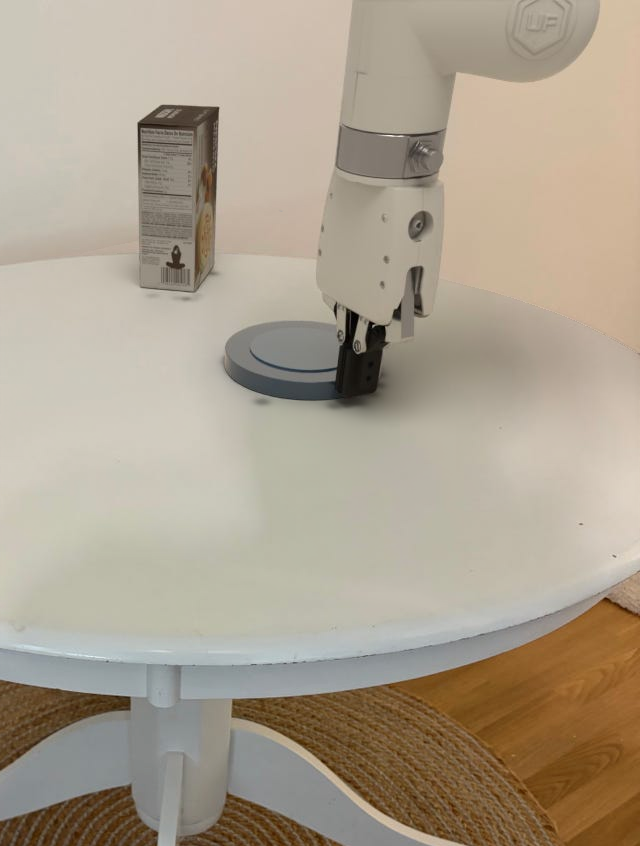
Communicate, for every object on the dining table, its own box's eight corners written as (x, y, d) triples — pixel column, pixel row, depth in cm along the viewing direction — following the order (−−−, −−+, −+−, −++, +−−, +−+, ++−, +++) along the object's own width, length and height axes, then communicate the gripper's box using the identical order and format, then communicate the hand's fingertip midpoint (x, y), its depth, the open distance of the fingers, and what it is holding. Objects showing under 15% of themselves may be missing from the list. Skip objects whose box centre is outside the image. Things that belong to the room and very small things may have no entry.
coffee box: (160, 261, 112) (160, 102, 102) (215, 266, 110) (221, 105, 100) (137, 288, 105) (135, 120, 95) (196, 293, 104) (200, 124, 94)
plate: (406, 359, 90) (409, 340, 89) (335, 414, 81) (338, 394, 80) (273, 326, 96) (275, 308, 95) (194, 373, 87) (194, 354, 86)
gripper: (500, 170, 67) (448, 419, 78) (370, 127, 77) (341, 352, 89) (410, 182, 64) (371, 438, 76) (288, 136, 75) (270, 366, 86)
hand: (355, 391), depth 82 cm, fingers closed
